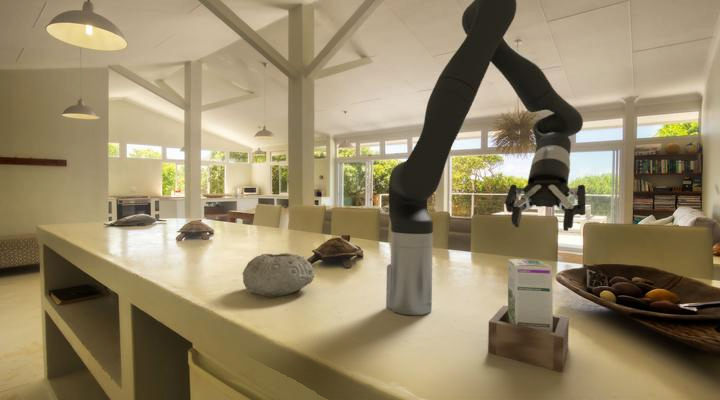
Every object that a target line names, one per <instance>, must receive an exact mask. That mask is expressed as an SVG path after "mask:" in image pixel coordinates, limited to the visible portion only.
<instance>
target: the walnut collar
mask: <svg viewBox="0 0 720 400" xmlns="http://www.w3.org/2000/svg"><path fill="white" fill-rule="evenodd" d="M569 319H570V317H569V316H563V315H557V314H553V332H548V331H544V330H539V329H534V328H529V327H525V326H520V325H515V324H511V323H508V305H502V306H501V308H499V310H498V311H497V312H496V313H495V314H494V315H493V316H492V317H491V318H490V319H489V320H488V336H487V337H488V340H487V348H488V349H487V352H488V353H489V354H493V355H497V356H502V357H504V358H508V359H513V360H516V361H520V362H524V363H527V364H531V365H534V366H539V367H542V368H545V369H550V370H554V371H556V372H561V373H562V372H564V368H565V363H566V358H567V353H568V351H569V350H568V349H569V327H570V322H569V321H570V320H569Z"/></svg>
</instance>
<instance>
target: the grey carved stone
mask: <svg viewBox="0 0 720 400" xmlns="http://www.w3.org/2000/svg"><path fill="white" fill-rule="evenodd" d="M314 278H315V270H314V268H313V266H312V263H311V262H309V261H308V259H306V258H305V256H301V255H298V254H293V253H288V252H287V253H286V252H285V253H282V252H281V253H278V254H277V253H274V254H273V253H261V254H260V255H257V256H255V257H254V258H252V259H251V260H249V262H247V264H246V266H245V268H244V269H243V272H242V283H243V284H244V287H245V288H246V289H247V290H248V291H249V292H251V293H252V294H255V295H260V296H261V295H262V296H264V297H268V296H269V297H280V296H285V295H288V294H290V293H295V292H297V291H298V290H301V289H304V288H305V287H306V286H307V287H308V285H309V284H312V282H313V280H314Z"/></svg>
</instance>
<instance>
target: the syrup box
mask: <svg viewBox="0 0 720 400" xmlns="http://www.w3.org/2000/svg"><path fill="white" fill-rule="evenodd" d="M507 266H508V267H507V269H508V270H507V273H508V274H507V276H508V277H507V292H508V293H507V303H508V304H507V306H508V323H511V324H515V325H520V326H525V327H529V328H534V329H539V330H544V331H548V332H553V315H554V313H553V310H554V309H553V302H554V301H553V273H554V272H553V269H554V267H553V266H552V265H549V264H548V263H546V262H544V261H542V260H539V259H538V260H537V259H531V258H530V259H529V258H527V259H526V258H519V259H516V258H515V259H514V258H512V259H511V258H510V259H508V264H507Z"/></svg>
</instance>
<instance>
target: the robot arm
mask: <svg viewBox="0 0 720 400" xmlns="http://www.w3.org/2000/svg"><path fill="white" fill-rule="evenodd" d="M517 7H518V6H517V0H473V1H472V2H471V3H470V4H469V5H468V6H467V7H466V9H465V10H464V11H463V13H462V17H461V24H462V25H461V26H462V29H463V31H464V33H465V34H466V36H465V39H464V41H463V42H462V43H461V44H460V46H459V48H458V49H457V50H456V51H455V52H454V54H453V55H452V56H451V58H450V59H449V61H448V62H447V64H446V65H445V66H444V68H443V69H442V71H441V73H440V75H439V76H438V78H437V80H436V83H434V84H435V85H434V87H433V88H432V91H431V93H430V96H429V99H428V101H427V105H426V109H425V113H424V114H425V115H424V121H423V127H422V130H421V133H420V136H419V138H418V140H417V141H416V143H415V145H414V147H413V149H412V151H411V153H410V155H409V156H408V157H407V159H406V161H403V162H401V163H398V164H397V165H395V167H393V169H392V171H391V172H390V176H389V181H388V217H389V221H390V226H391V227H390V228H391V229H390V232H391V233H390V264H387V266H386V288H385V289H386V293H385V294H386V296H385V300H386V305H385V308H387V309H390V310H391V311H392V312H395V313H398V314H400V315H408V316H422V315H427V314H430V313H431V312H432V307H433V306H432V305H433V255H434V254H433V252H434V251H433V249H434V248H433V247H434V245H433V244H434V243H433V241H434V223H433V222H434V221H433V219H432V217H431V215H430V213H429V208H428V199H430V198H431V197H432V196H433V195H434V194H435V192H436V191H437V189H438V187H439V184H440V182H441V180H442V177H443V173H444V170H445V167H446V164H447V161H448V157H449V155H450V152H451V149H452V147H453V145H454V143H455V141H456V139H457V137H458V135H459V133H460V130H461V129H462V126H463V124H464V122H465V119H467V115H468V113H469V111H470V110H471V107H472V105H473V103H474V101H475V98H476V96H477V94H478V91H479V89H480V87H481V85H482V82H483V79H484V78H485V75H486V73H487V71H488V68H489V66H490V64H491V63H492V65H493V66H494V67H495V68H496V69H497V70H498V71H499V72H500V73H501V74H502V75H503V77H504V78H505V80H506V81H507V82H508V84H509V85H510V86H511V88H512V90H513V91H514V92H515V94H516V95H517V97H518V98H519V100H520V101H521V102H522V104H523V106H524V108H525V109H526V110H527V111H528V112H530V113H537V112H538V113H539V112H542V111H550V113H549V114H547V115H545V116H543V117H540V118H538V119H537V120H536V121H535V123H534V124H533V126H532V132H533V135H534V138H535V143H536V148H535V151H534V157H533V159H532V162H531V166H530V169H529V174H528V179H527V183H526V185H525V186H524V187H517V185H516V184H511V185H509V186H510V187H509V190H508V192H507V195H506V198H505V201H504V205H505V208H506V212H507V213H510V212H511V216H510V218H511V223H512V225H514V227H515V228H520V224H521V219H522V215H523V214H522V213H524V212H525V211H528V210H530V209H532V208H533V207H536V208H537V207H538V208H540V207H541V208H543V207H545V208H546V207H547V208H553V207H555V208H557V209H558V210H560V211H559V212H563V213H564V215H563V224H562V227H563V231H567V232H568V231H569V229H572V228H573V226H574V217H575V216H576V215H580V216H584V215H586V213H587V211H586V187H585V185H584V184H579V185H578V186H577V187H574V188H573V187H571V188H570V187H569V185H568V184H569V177H570V172H571V159H570V156H571V148H572V142H571V140H570V137H572V136H574V135H576V134H578V133H579V132H580V131H581V130H582V128H583V125H584V121H583V117H582V115H581V113H580V112H579V111H578V110H577V108H575V107H574V106H573V105H571V104H570V103H569V102H568V101H566V100H565V99H564V98H563V97H562V96H561V95H560V94H559V93H557V91H556V89H554V87H553V86H552V84H551V83H550V81H549V79H548V78H547V76H546V74H545V73H544V71H543V70H542V69H541V68H540V66H539V65H537V63H534V62H533V60H531V59H529V58H527V57H525V56H524V55H522V54H521V53H519V52H518V51H517V50H516V49H514V48H513V47H511V45H510V44H509V43H508V42H507V40H506V39H505V35H506V34H507V32H508V30H509V28H510V26H511V24H512V22H513V21H514V19H515V15H516V13H517ZM569 196H572V197H573V199H575V200H577V204H573V203H572V202H571V201H570V200H568V199H569V198H568V197H569ZM519 198H520V199H519ZM517 199H519V200H517Z"/></svg>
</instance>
